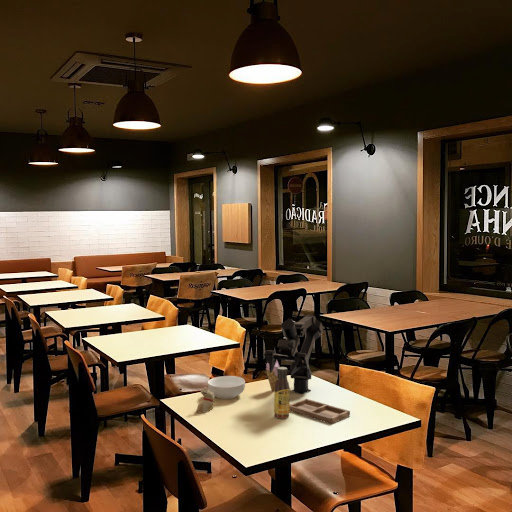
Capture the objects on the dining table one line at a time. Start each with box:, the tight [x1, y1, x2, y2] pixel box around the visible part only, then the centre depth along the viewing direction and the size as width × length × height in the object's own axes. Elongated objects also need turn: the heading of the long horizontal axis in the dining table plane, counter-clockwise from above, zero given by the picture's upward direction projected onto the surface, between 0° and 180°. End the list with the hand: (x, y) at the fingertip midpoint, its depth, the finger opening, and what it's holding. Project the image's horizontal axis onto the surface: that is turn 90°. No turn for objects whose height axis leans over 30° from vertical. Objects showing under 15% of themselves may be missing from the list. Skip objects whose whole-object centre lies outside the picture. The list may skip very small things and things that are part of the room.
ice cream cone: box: [265, 359, 281, 392], centre depth 261 cm, size 7×6×15 cm
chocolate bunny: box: [196, 386, 215, 413], centre depth 237 cm, size 6×8×10 cm
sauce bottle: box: [273, 366, 291, 420], centre depth 227 cm, size 7×6×20 cm
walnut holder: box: [289, 398, 351, 425], centre depth 231 cm, size 12×23×2 cm, turn 44°
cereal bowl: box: [207, 375, 246, 400], centre depth 255 cm, size 17×17×7 cm
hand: (280, 373), depth 235 cm, fingers open, 9 cm apart
